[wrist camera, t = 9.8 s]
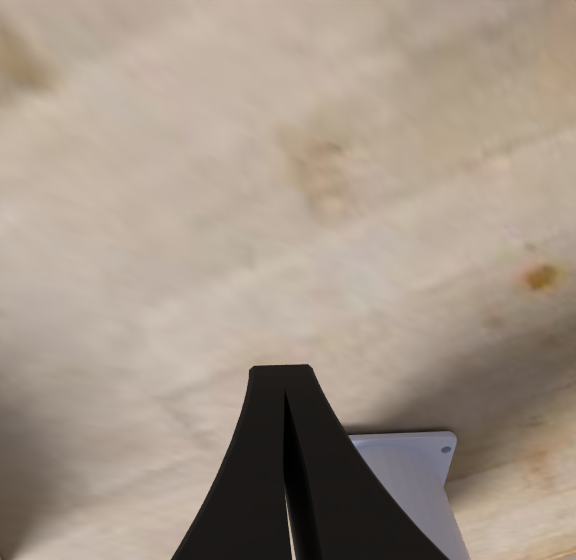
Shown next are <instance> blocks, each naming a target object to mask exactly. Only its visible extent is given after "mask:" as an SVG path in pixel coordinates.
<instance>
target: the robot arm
mask: <svg viewBox="0 0 576 560" xmlns="http://www.w3.org/2000/svg"><path fill="white" fill-rule="evenodd" d="M456 444H457V438H456V436H455V434H454V433H453V432H450V431H440V432H415V433H390V434H365V435H347V433H346V431H345V430H344V428H343V427H342V425H341V423H340V422H339V420H338V418H337V417H336V415H335V413H334V412H333V410H332V408H331V406H330V404H329V402H328V401H327V399H326V397H325V395H324V393H323V391H322V389H321V387H320V385H319V383H318V380H317V378H316V376H315V374H314V371H313V368H312V367H311V366H309V365H308V364H300V365H265V366H253V367H252V368H251V369H250V370H249V380H248V386H247V391H246V396H245V400H244V403H243V407H242V410H241V414H240V417H239V420H238V423H237V425H236V428H235V431H234V434H233V437H232V440H231V442H230V445H229V447H228V450H227V452H226V455H225V457H224V459H223V462H222V464H221V466H220V469H219V471H218V473H217V476H216V478H215V480H214V482H213V484H212V486H211V488H210V490H209V492H208V494H207V496H206V498H205V500H204V502H203V504H202V506H201V508H200V510H199V512H198V514H197V516H196V517H195V519H194V521H193V523H192V524H191V526H190V528H189V530H188V531H187V533H186V535H185V537H184V538H183V540H182V542H181V544H180V545H179V547H178V549H177V550H176V552H175V554H174V555H173V557H172V558H171V560H292V554H291V545H290V536H289V527H288V518H287V508H288V514H289V520H290V526H291V532H292V538H293V545H294V551H295V557H296V560H471V559H470V557H469V554H468V551H467V549H466V546H465V543H464V541H463V538H462V535H461V533H460V530H459V527H458V525H457V522H456V519H455V517H454V514H453V511H452V509H451V506H450V503H449V501H448V498H447V495H446V493H445V490H444V484H445V481H446V477H447V474H448V471H449V467H450V464H451V461H452V457H453V454H454V451H455V447H456ZM285 495H286V499H285ZM286 502H287V508H286Z"/></svg>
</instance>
